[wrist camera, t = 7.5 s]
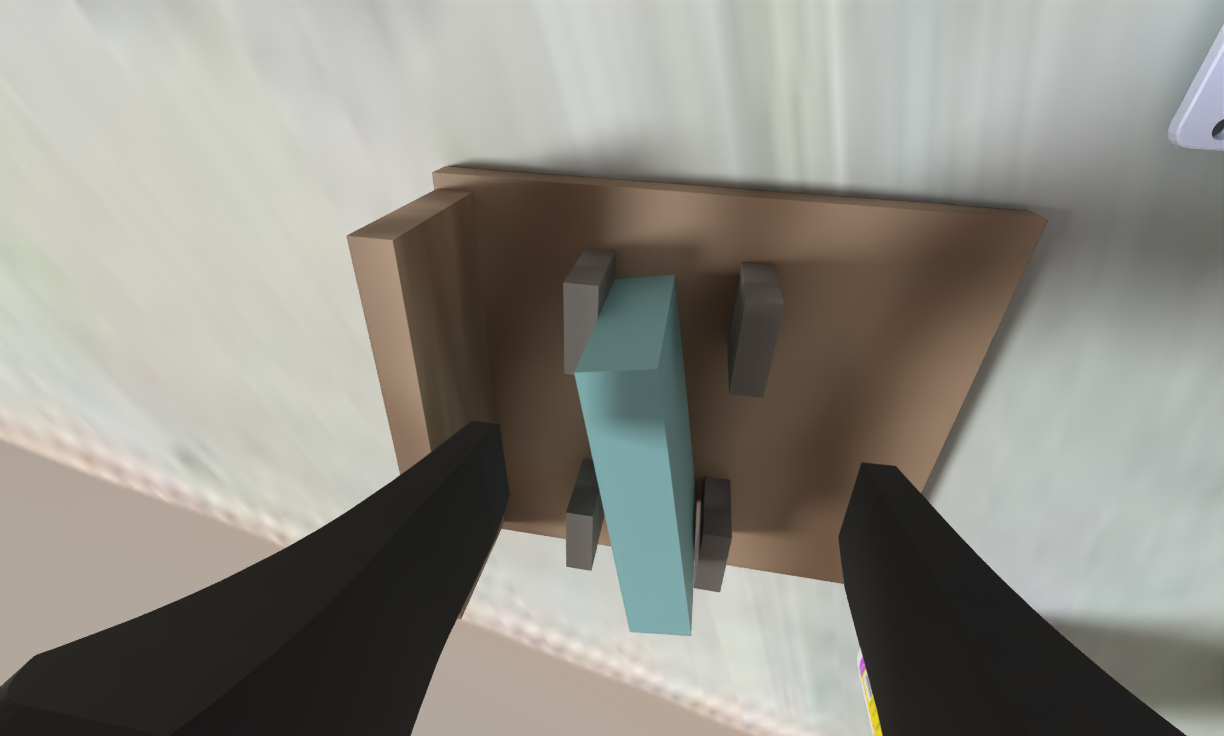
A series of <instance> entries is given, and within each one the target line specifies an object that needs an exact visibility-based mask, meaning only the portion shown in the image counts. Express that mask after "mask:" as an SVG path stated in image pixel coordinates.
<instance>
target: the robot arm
mask: <svg viewBox="0 0 1224 736" xmlns="http://www.w3.org/2000/svg"><path fill="white" fill-rule="evenodd" d="M1223 119H1224V24H1223V26H1222V28H1221V30H1220V32H1219V34H1218V36H1217V37H1216V39H1215V41H1214V43H1213V45H1212V47H1211V49H1210V51H1209V52H1208V54H1207V56H1206V58H1205V60H1204V62H1203V64H1202V66H1201V67H1200V69H1199V71H1198V73H1197V75H1196V77H1195V79H1194V81H1193V82H1192V84H1191V86H1190V88H1189V90H1188V92H1187V94H1186V96H1185V97H1184V99H1183V101H1182V103H1181V105H1180V107H1179V109H1178V111H1177V112H1176V114H1175V116H1174V118H1173V120H1172V122H1171V124H1170V126H1169V129H1168V132H1167V133H1168V140H1169V141H1170V142H1171V143H1172V144H1173V145H1176V146H1180V147H1184V148H1189V149H1204V150H1220V151H1224V129H1223V130H1222V131H1221V132H1220V133H1219V134H1217V135H1215V136H1214V137H1213V136H1212V130H1213V128H1214V126H1215V125H1216V124H1217V123H1218V122H1219V121H1221V120H1223ZM509 496H510V494H509V487H508V480H507V472H506V465H505V458H504V451H503V444H502V437H501V430H500V424H495V423H486V422H476V421H472V422H470V423H469V424H468V425H466V426H465V427H463V428H462V429H461V430H459V431H458V432H457V433H455V434H454V435H453V436H451V437H450V438H449V439H447V440H446V441H445V442H444V443H442V444H441V445H440V446H438V447H437V448H436V449H434V450H433V451H432V452H431V453H429V454H428V455H427V456H425V457H424V458H423V459H421V460H420V461H419V462H417V463H416V464H415V465H413V466H412V467H410V468H409V469H408V470H406V471H405V472H404V473H402V474H401V475H400V476H398V477H397V478H396V479H394V480H393V481H392V482H390V483H389V484H387V485H386V486H384V487H383V488H381V489H380V490H378V491H377V492H375V493H374V494H372V495H371V496H369V497H368V498H367V499H365V500H364V501H362V502H361V503H359V504H358V505H356V506H355V507H353V508H352V509H350V510H349V511H347V512H346V513H344V514H343V515H341V516H340V517H338V518H336V519H335V520H333V521H331V522H330V523H328V524H327V525H325V526H323V527H322V528H320V529H318V530H316V531H315V532H313V533H311V534H310V535H308V536H306V537H304V538H303V539H301V540H299V541H297V542H296V543H294V544H292V545H290V546H288V547H287V548H285V549H283V550H281V551H279V552H277V553H276V554H273V555H271V556H269V557H267V558H265V559H263V560H261V561H260V562H258V563H256V564H254V565H252V566H250V567H248V568H246V569H244V570H242V571H240V572H238V573H236V574H234V575H232V576H230V577H228V578H226V579H224V580H222V581H220V582H217V583H215V584H213V585H211V586H209V587H206V588H204V589H202V590H200V591H198V592H195V593H193V594H191V595H189V596H187V597H184V598H182V599H180V600H177V601H175V602H173V603H170V604H168V605H166V606H163V607H161V608H158V609H156V610H154V611H152V612H149V613H147V614H144V615H142V616H139V617H137V618H134V619H132V620H129V621H127V622H124V623H121V624H119V625H116V626H113V627H111V628H108V629H105V630H103V631H100V632H98V633H95V634H92V635H89V636H87V637H84V638H81V639H79V640H76V641H74V642H71V643H68V644H65V645H63V646H60V647H57V648H55V649H52V650H49V651H46V652H43V653H41V654H38V655H36V656H34V657H33V658H32V659H30V660H29V661H28V662H27V663H26V664H25V665H24V666H23V667H22V668H21V669H19V671H17V672H16V673H15V674H14V675H13V676H12V677H11V678H10V679H8V680H7V681H6V682H5V683H4V684H3V685H2V686H1V687H0V736H411V733H412V730H413V727H414V724H415V721H416V719H417V716H418V713H419V710H420V707H421V704H422V702H423V699H424V697H425V694H426V691H427V688H428V686H429V683H430V680H431V678H432V675H433V672H434V670H435V667H436V664H437V662H438V659H439V657H440V655H441V652H442V650H443V648H444V645H445V643H446V641H447V639H448V636H449V634H450V632H451V630H452V628H453V626H454V624H455V622H456V620H457V618H458V616H459V614H460V612H461V610H462V608H463V605H464V603H465V601H466V599H467V597H468V595H469V593H470V591H471V589H472V587H473V585H474V583H475V581H476V579H477V577H478V575H479V573H480V570H481V568H482V566H483V564H484V562H485V560H486V558H487V556H488V554H489V552H490V549H491V547H492V545H493V543H494V541H495V538H496V536H497V533H498V530H499V527H500V524H501V521H502V518H503V515H504V512H505V509H506V506H507V503H508V500H509ZM838 540H839V548H840V557H841V565H842V572H843V579H844V586H845V591H846V595H847V599H848V603H849V607H850V610H851V614H852V618H853V622H854V626H855V630H856V634H857V637H858V641H859V645H860V649H861V652H862V656H863V660H864V664H865V667H866V671H867V675H868V679H869V682H870V686H871V690H872V694H873V698H874V701H875V705H876V709H877V713H878V718H879V722H880V727H881V731H882V736H1186V735H1185V734H1184V733H1182V732H1181V731H1180V730H1178V729H1177V728H1176V727H1175V726H1173V725H1172V724H1171V723H1169V722H1168V721H1167V720H1165V719H1164V718H1163V717H1161V716H1160V715H1159V714H1158V713H1156V712H1155V711H1154V710H1152V709H1151V708H1150V707H1148V706H1147V705H1146V704H1145V703H1143V702H1142V701H1141V700H1139V699H1138V698H1137V697H1135V696H1134V695H1133V694H1132V693H1131V692H1129V691H1128V690H1127V689H1126V688H1124V687H1123V686H1122V685H1121V684H1119V683H1118V682H1117V681H1116V680H1114V679H1113V678H1112V677H1111V676H1109V675H1108V674H1107V673H1106V672H1105V671H1103V670H1102V669H1101V668H1100V667H1099V666H1098V665H1096V664H1095V663H1094V662H1093V661H1092V660H1090V659H1089V658H1088V657H1087V656H1086V655H1085V654H1083V653H1082V652H1081V651H1080V650H1079V649H1078V648H1076V647H1075V646H1074V645H1073V644H1072V643H1071V642H1069V641H1068V640H1067V639H1066V638H1065V637H1064V636H1062V635H1061V634H1060V633H1059V632H1058V631H1057V630H1056V629H1054V628H1053V627H1052V626H1051V625H1050V624H1049V623H1048V622H1047V621H1046V620H1044V619H1043V618H1042V617H1041V616H1040V615H1039V614H1038V613H1037V612H1036V611H1035V610H1034V609H1033V608H1031V607H1030V606H1029V605H1028V604H1027V603H1026V602H1025V601H1024V600H1023V599H1022V598H1021V597H1020V596H1019V595H1018V594H1017V593H1016V592H1015V591H1014V590H1013V589H1012V588H1011V587H1009V586H1008V585H1007V584H1006V583H1005V582H1004V581H1003V580H1002V579H1001V578H1000V577H999V576H998V575H997V574H996V573H995V572H994V571H993V570H992V569H991V568H990V567H989V566H988V565H987V564H986V563H985V562H984V561H983V560H982V559H981V558H980V557H979V556H978V555H977V554H976V553H975V551H974V550H973V549H972V548H971V547H970V546H969V545H968V544H967V543H966V542H965V541H964V540H963V539H962V538H961V537H960V536H959V535H958V534H957V532H956V531H955V530H954V529H953V528H952V527H951V526H950V525H949V524H948V523H947V522H946V521H945V519H944V518H943V517H942V516H941V515H940V514H939V513H938V512H937V511H936V510H935V508H934V507H933V506H932V505H931V504H930V503H929V502H928V501H927V500H926V499H925V497H924V496H923V495H922V494H921V493H920V492H919V491H918V490H917V488H916V487H915V486H914V485H913V484H912V483H911V482H910V481H909V480H908V478H907V477H906V476H905V475H904V474H903V473H902V472H901V471H900V470H899V469H898V468H897V467H896V466H893V465H883V464H874V463H864V462H861V465H860V468H859V472H858V475H857V478H856V481H855V485H854V488H853V491H852V494H851V497H850V501H849V504H848V507H847V510H846V513H845V517H844V520H843V523H842V526H841V530H840V533H839V536H838Z"/></svg>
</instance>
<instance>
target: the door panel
mask: <svg viewBox="0 0 1224 736" xmlns="http://www.w3.org/2000/svg"><path fill="white" fill-rule="evenodd" d="M574 374H575V379H576V383H577V388H578V393H579V397H580V402H581V407H582V411H583V416H584V421H585V425H586V430H587V435H588V439H589V444H590V448H591V453H592V458H593V462H594V467H595V472H596V476H597V481H598V486H599V490H600V495H601V500H602V504H603V509H604V514H605V518H606V523H607V528H608V532H609V537H610V542H611V546H612V551H613V556H614V560H615V565H616V569H617V574H618V579H619V583H620V588H621V593H622V597H623V602H624V607H625V611H626V616H627V621H628V625H629V630H630V632H638V633H654V634H669V635H685V636H691V625H692V603H693V581H694V558H695V536H696V513H697V496H696V486H695V475H694V465H693V455H692V444H691V434H690V424H689V413H688V403H687V393H686V382H685V372H684V362H683V351H682V341H681V331H680V320H679V310H678V300H677V290H676V279H675V274H674V275H661V276H649V277H637V278H625V279H615V280H614V283H613V285H612V287H611V289H610V292H609V294H608V296H607V299H606V301H605V303H604V305H603V308H602V310H601V312H600V315H599V317H598V319H597V322H596V324H595V326H594V328H593V331H592V333H591V335H590V338H589V340H588V342H587V345H586V347H585V349H584V351H583V354H582V356H581V358H580V361H579V363H578V365H577V368H576V370H575V372H574Z"/></svg>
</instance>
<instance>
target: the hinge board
mask: <svg viewBox="0 0 1224 736" xmlns="http://www.w3.org/2000/svg"><path fill="white" fill-rule="evenodd" d="M432 176H433V183H434V191H432V192H430V193H428V194H426V195H424V196H422V197H420V198H419V199H417V200H415V201H413V202H411V203H409V204H407V205H405V206H403V207H401V208H399V209H397V210H395V211H393V212H392V213H390V214H388V215H386V216H384V217H382V218H380V219H378V220H376V221H374V222H372V223H370V224H368V225H366V226H365V227H363V228H361V229H359V230H357V231H355V232H353V233H351V234H349V235H347V240H348V245H349V249H350V254H351V258H352V263H353V267H354V271H355V276H356V280H357V285H358V289H359V294H360V298H361V302H362V307H363V311H364V316H365V320H366V325H367V329H368V333H369V338H370V342H371V347H372V351H373V355H374V360H375V364H376V369H377V373H378V378H379V382H380V386H381V391H382V395H383V400H384V404H385V409H386V413H387V417H388V422H389V426H390V431H391V435H392V440H393V444H394V448H395V453H396V457H397V462H398V466H399V471H400V475H401V474H402V473H404V472H405V471H406V470H408V469H409V468H410V467H412V466H413V465H415V464H416V463H417V462H419V461H420V460H421V459H423V458H424V457H425V456H427V455H428V454H429V453H431V452H432V451H433V450H434V449H436V448H437V447H438V446H440V445H441V444H442V443H444V442H445V441H446V440H447V439H449V438H450V437H451V436H453V435H454V434H455V433H457V432H458V431H459V430H461V429H462V428H463V427H465V426H466V425H468V424H469V423H470V422H472V421H476V422H486V423H495V424H500V430H501V437H502V444H503V451H504V458H505V465H506V472H507V480H508V487H509V494H510V496H509V500H508V503H507V506H506V509H505V512H504V515H503V518H502V521H501V524H500V527H499V530H498V533H497V536H496V538H495V541H494V543H493V545H492V547H491V549H490V552H489V554H488V556H487V558H486V560H485V562H484V564H483V566H482V568H481V570H480V573H479V575H478V577H477V579H476V581H475V583H474V585H473V587H472V589H471V591H470V593H469V595H468V597H467V599H466V601H465V603H464V605H463V608H462V610H461V612H460V614H459V616H458V619H461V618H462V616H463V614H464V611H465V609H466V607H467V605H468V603H469V600H470V598H471V596H472V594H473V591H474V589H475V587H476V585H477V582H478V580H479V578H480V576H481V573H482V571H483V569H484V567H485V564H486V562H487V560H488V558H489V555H490V553H491V551H492V549H493V546H494V544H495V542H496V540H497V537H498V535H499V533H500V531H501V529H507V530H513V531H519V532H526V533H532V534H538V535H544V536H550V537H557V538H563V539H566V567H572V568H578V569H584V570H590V571H591V570H592V566H593V562H594V557H595V553H596V549H597V545H598V544H600V545H606V546H611V542H610V537H609V532H608V528H607V523H606V518H605V514H604V509H603V504H602V500H601V495H600V490H599V486H598V481H597V476H596V472H595V467H594V462H593V458H592V453H591V448H590V444H589V439H588V435H587V430H586V425H585V421H584V416H583V411H582V407H581V402H580V397H579V393H578V388H577V383H576V379H575V374H574V372H575V370H576V368H577V365H578V363H579V361H580V358H581V356H582V354H583V351H584V349H585V347H586V345H587V342H588V340H589V338H590V335H591V333H592V331H593V328H594V326H595V324H596V322H597V319H598V317H599V315H600V312H601V310H602V308H603V305H604V303H605V301H606V299H607V296H608V294H609V292H610V289H611V287H612V285H613V283H614V280H615V279H625V278H637V277H649V276H661V275H674V274H675V279H676V290H677V300H678V310H679V320H680V331H681V341H682V351H683V362H684V372H685V382H686V393H687V403H688V413H689V424H690V434H691V444H692V455H693V465H694V475H695V486H696V496H697V513H696V536H695V558H694V560H695V567H694V588H697V589H703V590H709V591H715V592H720V590H721V585H722V581H723V576H724V572H725V567H726V565H730V566H737V567H743V568H749V569H755V570H761V571H768V572H774V573H780V574H786V575H792V576H799V577H805V578H811V579H817V580H823V581H830V582H836V583H842V584H844V579H843V572H842V565H841V557H840V548H839V540H838V536H839V533H840V530H841V526H842V523H843V520H844V517H845V513H846V510H847V507H848V504H849V501H850V497H851V494H852V491H853V488H854V485H855V481H856V478H857V475H858V472H859V468H860V465H861V462H864V463H874V464H883V465H893V466H896V467H897V468H898V469H899V470H900V471H901V472H902V473H903V474H904V475H905V476H906V477H907V478H908V480H909V481H910V482H911V483H912V484H913V485H914V486H915V487H916V488H917V490H918V491H919V492H920V493H921V492H922V490H923V488H924V486H925V484H926V482H927V480H928V477H929V475H930V473H931V471H932V469H933V467H934V464H935V462H936V460H937V458H938V456H939V454H940V451H941V449H942V447H943V445H944V443H945V441H946V439H947V436H948V434H949V432H950V430H951V428H952V426H953V423H954V421H955V419H956V417H957V415H958V413H959V410H960V408H961V406H962V404H963V402H964V400H965V398H966V395H967V393H968V391H969V389H970V387H971V385H972V382H973V380H974V378H975V376H976V374H977V372H978V369H979V367H980V365H981V363H982V361H983V359H984V357H985V354H986V352H987V350H988V348H989V346H990V344H991V341H992V339H993V337H994V335H995V333H996V331H997V328H998V326H999V324H1000V322H1001V320H1002V318H1003V316H1004V313H1005V311H1006V309H1007V307H1008V305H1009V303H1010V300H1011V298H1012V296H1013V294H1014V292H1015V290H1016V287H1017V285H1018V283H1019V281H1020V279H1021V277H1022V275H1023V272H1024V270H1025V268H1026V266H1027V264H1028V262H1029V259H1030V257H1031V255H1032V253H1033V251H1034V249H1035V246H1036V244H1037V242H1038V240H1039V238H1040V236H1041V234H1042V231H1043V229H1044V227H1045V225H1046V223H1047V221H1048V220H1046V219H1044V218H1042V217H1041V216H1039V215H1037V214H1035V213H1033V212H1031V211H1026V210H1013V209H1000V208H987V207H974V206H960V205H947V204H934V203H921V202H908V201H895V200H881V199H868V198H855V197H842V196H829V195H816V194H803V193H789V192H776V191H763V190H750V189H737V188H724V187H710V186H697V185H684V184H671V183H658V182H645V181H632V180H618V179H605V178H592V177H579V176H566V175H553V174H539V173H526V172H513V171H500V170H487V169H474V168H461V167H447V166H445V167H443V168H441V169H439V170H436V171H434V172H432Z"/></svg>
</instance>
